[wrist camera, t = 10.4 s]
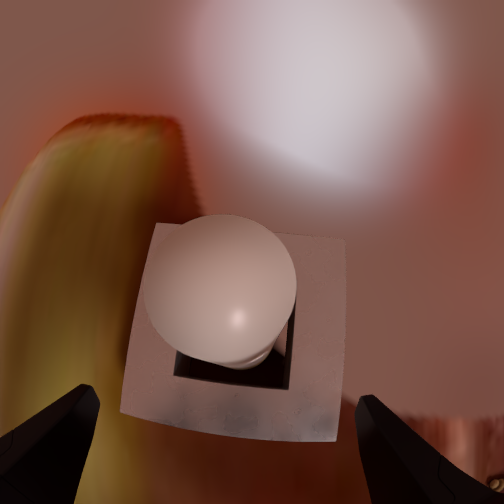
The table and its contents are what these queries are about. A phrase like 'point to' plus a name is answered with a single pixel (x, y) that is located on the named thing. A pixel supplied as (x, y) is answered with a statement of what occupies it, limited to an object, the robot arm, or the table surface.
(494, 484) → the gavel
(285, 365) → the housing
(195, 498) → the table surface
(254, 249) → the white tall rounded piece
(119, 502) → the table surface
